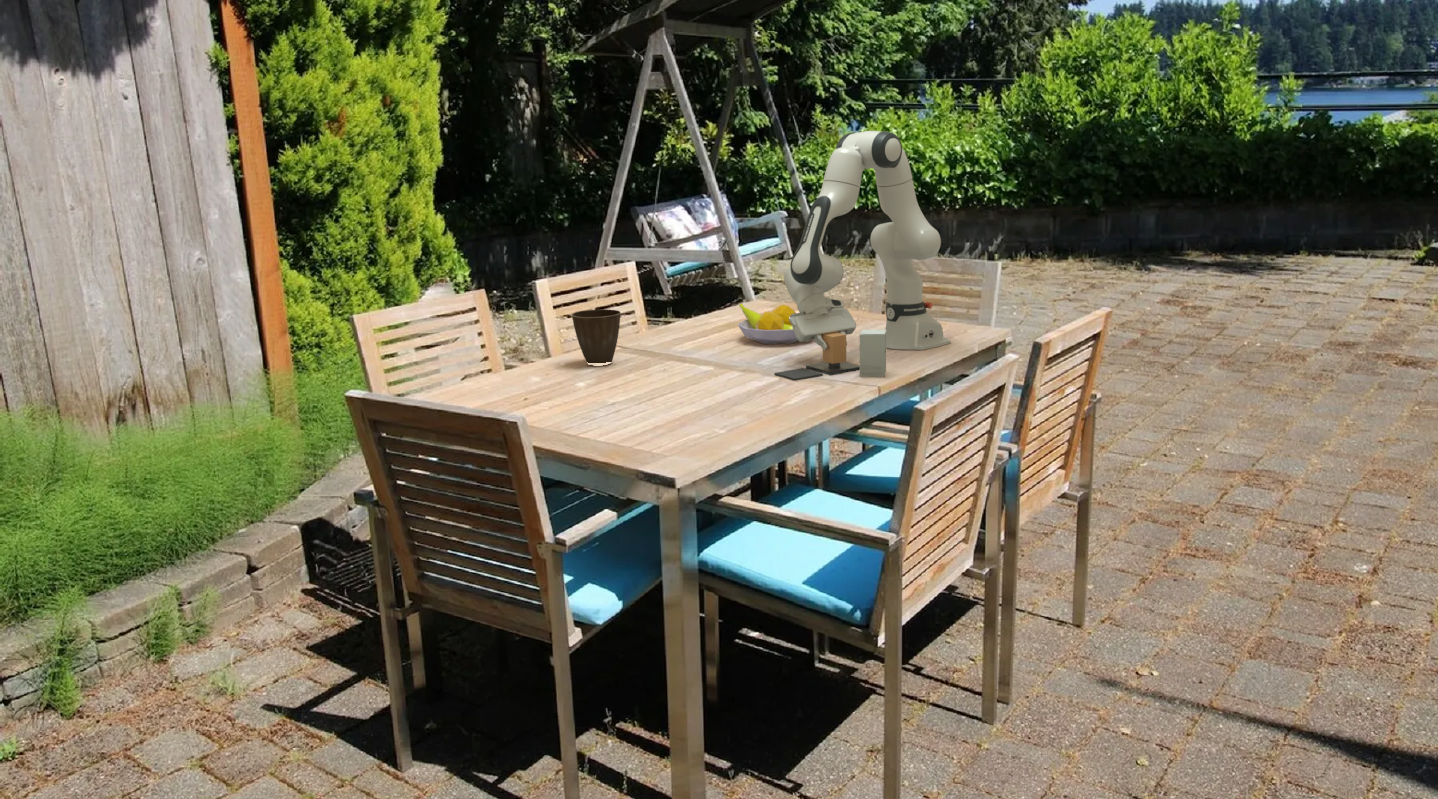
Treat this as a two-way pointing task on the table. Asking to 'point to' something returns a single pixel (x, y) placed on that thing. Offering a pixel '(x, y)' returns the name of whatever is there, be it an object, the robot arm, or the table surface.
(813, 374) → the mat
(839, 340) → the tan rectangular pillar
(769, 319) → the fruit bowl
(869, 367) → the supplement box
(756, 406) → the table surface
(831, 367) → the post stand
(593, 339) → the plant pot
